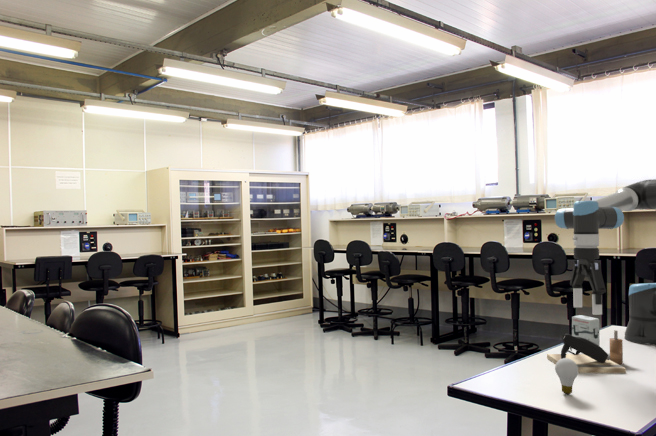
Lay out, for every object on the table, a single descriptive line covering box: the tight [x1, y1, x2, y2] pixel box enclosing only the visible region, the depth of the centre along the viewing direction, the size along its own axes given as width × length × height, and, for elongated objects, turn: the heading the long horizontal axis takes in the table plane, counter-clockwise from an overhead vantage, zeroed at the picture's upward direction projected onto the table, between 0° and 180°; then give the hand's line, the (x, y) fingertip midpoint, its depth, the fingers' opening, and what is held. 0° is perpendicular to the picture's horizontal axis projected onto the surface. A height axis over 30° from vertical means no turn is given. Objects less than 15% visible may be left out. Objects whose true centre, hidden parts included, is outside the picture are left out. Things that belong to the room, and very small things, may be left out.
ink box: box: [571, 314, 601, 347], centre depth 190 cm, size 9×5×12 cm, turn 25°
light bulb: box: [554, 358, 579, 396], centre depth 139 cm, size 6×6×10 cm
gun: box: [560, 333, 610, 363], centre depth 166 cm, size 3×16×10 cm, turn 87°
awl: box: [609, 329, 624, 366], centre depth 170 cm, size 4×4×11 cm
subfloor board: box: [546, 353, 627, 374], centre depth 167 cm, size 18×17×2 cm
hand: (587, 310), depth 166 cm, fingers open, 13 cm apart
